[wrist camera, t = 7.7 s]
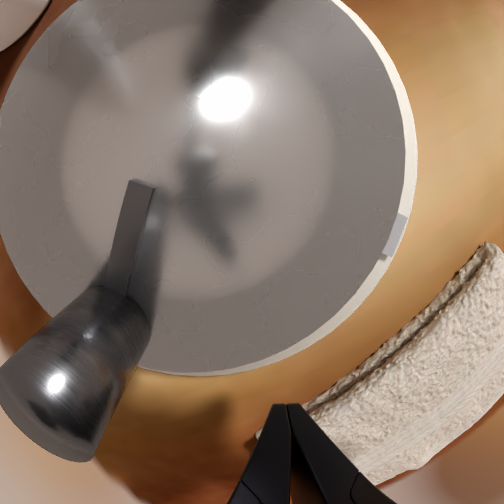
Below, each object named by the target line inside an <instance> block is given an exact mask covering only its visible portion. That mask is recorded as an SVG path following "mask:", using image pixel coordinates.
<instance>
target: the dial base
mask: <svg viewBox="0 0 504 504" xmlns="http://www.w3.org/2000/svg"><path fill="white" fill-rule="evenodd" d="M332 1H333V2H334V3H335V4H336V5H337V6H339V7H340V8H341V9H342V10H343V11H344V12H345V13H347V14H348V15H349V16H350V18H351V19H352V20H353V21H354V22H355V23H356V24H357V26H358V27H359V28H360V29H361V30H362V31H363V33H364V34H365V35H366V36H367V38H368V39H369V41H370V42H371V44H372V45H373V47H374V48H375V50H376V52H377V53H378V55H379V57H380V58H381V60H382V62H383V64H384V66H385V68H386V70H387V73H388V75H389V77H390V80H391V82H392V84H393V87H394V89H395V92H396V96H397V100H398V104H399V107H400V111H401V116H402V120H403V128H404V138H405V149H406V154H405V175H404V185H403V190H402V195H401V200H400V205H399V210H398V213H397V216H396V219H395V222H394V225H393V228H392V231H391V233H390V236H389V239H388V241H387V243H386V245H385V247H384V249H383V251H382V253H381V255H380V257H379V259H378V261H377V263H376V264H375V266H374V268H373V270H372V271H371V273H370V274H369V275H368V277H367V278H366V280H365V281H364V282H363V284H362V285H361V287H360V288H359V289H358V291H357V292H356V293H355V295H354V296H353V297H352V298H351V299H350V300H349V301H348V302H347V303H346V304H345V305H344V306H343V307H342V308H341V309H340V310H339V311H338V313H337V314H336V315H335V316H333V317H332V318H331V319H330V320H329V321H327V322H326V323H325V324H324V325H322V326H321V327H320V328H319V329H317V330H316V331H315V332H314V333H312V334H311V335H309V336H308V337H306V338H304V339H303V340H301V341H299V342H298V343H296V344H294V345H293V346H291V347H289V348H288V349H286V350H284V351H281V352H279V353H277V354H275V355H272V356H270V357H268V358H265V359H263V360H260V361H257V362H254V363H250V364H247V365H243V366H240V367H236V368H232V369H225V370H219V371H212V372H193V373H179V372H169V371H161V370H154V369H149V368H145V367H141V366H137V367H141V368H144V369H147V370H152V371H157V372H162V373H167V374H172V375H185V376H216V375H228V374H234V373H239V372H244V371H249V370H254V369H257V368H260V367H263V366H266V365H269V364H272V363H275V362H278V361H281V360H283V359H285V358H287V357H289V356H292V355H294V354H296V353H298V352H300V351H302V350H304V349H306V348H307V347H309V346H311V345H312V344H314V343H315V342H317V341H318V340H320V339H321V338H323V337H324V336H326V335H327V334H329V333H330V332H332V331H333V330H334V329H335V328H336V327H337V326H339V325H340V324H341V323H342V322H343V321H344V320H346V319H347V318H348V317H349V316H350V315H351V314H352V313H353V312H354V311H355V310H356V309H357V308H358V307H359V306H360V305H361V303H362V302H363V301H364V300H365V299H366V298H367V297H368V295H369V294H370V293H371V292H372V291H373V289H374V288H375V286H376V285H377V283H378V282H379V280H380V279H381V278H382V276H383V274H384V273H385V271H386V270H387V268H388V267H389V265H390V263H391V261H392V259H393V257H394V255H395V253H396V251H397V249H398V247H399V245H400V243H401V240H402V238H403V235H404V232H405V229H406V226H407V223H408V220H409V217H410V213H411V210H412V205H413V199H414V194H415V187H416V181H417V140H416V132H415V125H414V118H413V114H412V111H411V107H410V104H409V100H408V97H407V93H406V90H405V87H404V85H403V83H402V81H401V78H400V76H399V74H398V72H397V70H396V67H395V65H394V63H393V61H392V60H391V58H390V57H389V55H388V53H387V52H386V50H385V49H384V47H383V46H382V44H381V43H380V41H379V40H378V38H377V37H376V36H375V34H374V33H373V32H372V31H371V30H370V29H369V28H368V26H367V25H366V24H365V23H364V22H363V21H362V20H361V19H360V18H359V16H358V15H357V14H356V13H354V12H353V11H352V10H351V9H350V8H349V7H347V6H346V5H345V4H344V3H343V2H341V1H340V0H332Z"/></svg>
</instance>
